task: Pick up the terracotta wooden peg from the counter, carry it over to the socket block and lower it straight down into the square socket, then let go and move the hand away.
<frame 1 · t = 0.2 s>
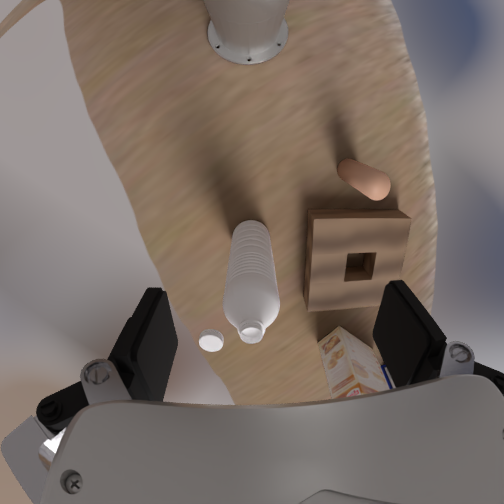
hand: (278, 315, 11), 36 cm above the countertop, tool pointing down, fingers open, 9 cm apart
water bottle: (244, 237, 49), on the countertop
peg: (348, 170, 43), on the countertop
milk carton: (389, 369, 67), on the countertop
coffeecake box: (346, 345, 61), on the countertop
socket block: (351, 254, 50), on the countertop
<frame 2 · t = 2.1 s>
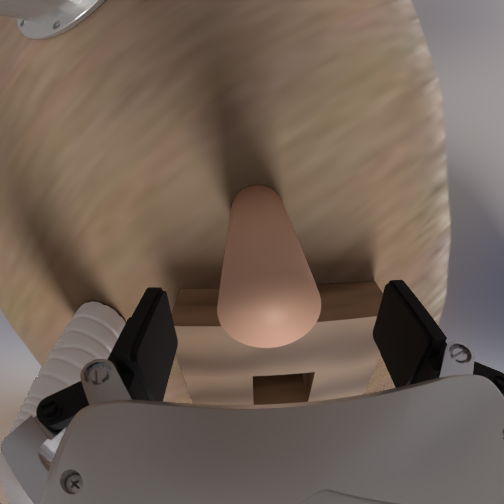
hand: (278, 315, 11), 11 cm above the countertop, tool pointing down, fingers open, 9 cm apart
water bottle: (96, 323, 27), on the countertop
peg: (257, 210, 21), on the countertop
socket block: (278, 354, 28), on the countertop
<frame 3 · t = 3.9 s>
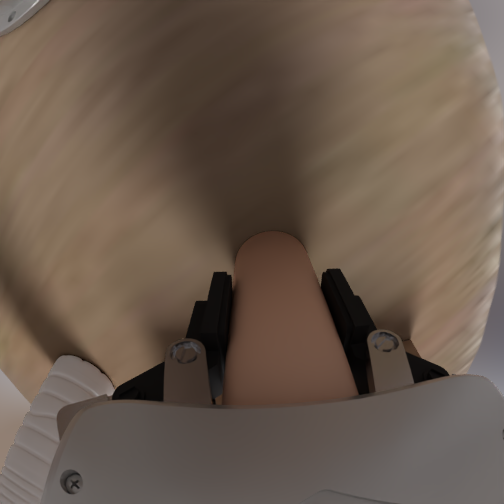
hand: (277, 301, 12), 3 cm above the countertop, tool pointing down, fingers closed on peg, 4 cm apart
water bottle: (78, 375, 21), on the countertop
peg: (272, 265, 15), on the countertop, touching gripper
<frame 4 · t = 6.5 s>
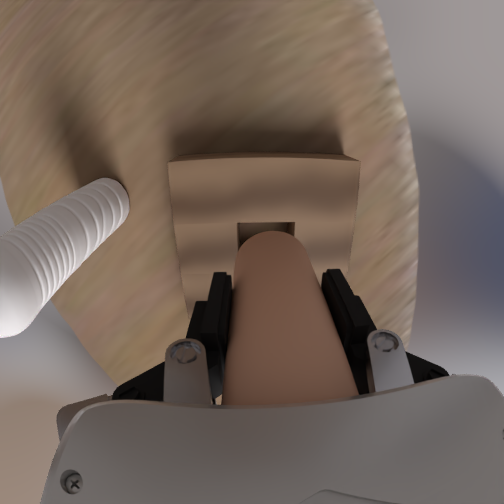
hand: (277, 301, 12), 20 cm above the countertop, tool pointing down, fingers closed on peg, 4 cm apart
water bottle: (101, 204, 30), on the countertop
peg: (272, 265, 15), point 17 cm above the countertop, touching gripper
socket block: (263, 229, 32), on the countertop
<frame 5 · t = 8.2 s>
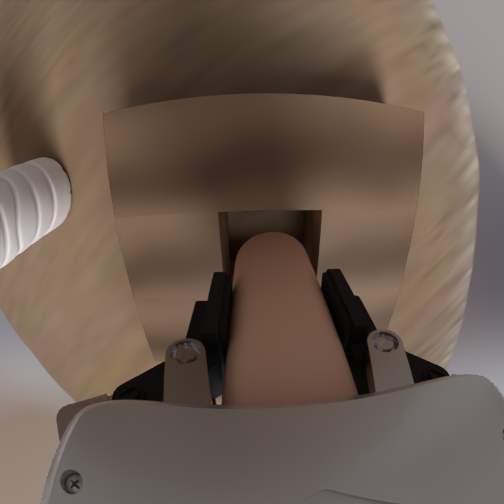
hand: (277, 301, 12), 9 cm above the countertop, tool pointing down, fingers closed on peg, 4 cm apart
water bottle: (40, 195, 19), on the countertop
peg: (272, 266, 15), point 6 cm above the countertop, touching gripper
socket block: (266, 226, 20), on the countertop
when the fingers open (6 cm above the countertop, at t = 9.5 s): peg drops 3 cm, resting in socket block.
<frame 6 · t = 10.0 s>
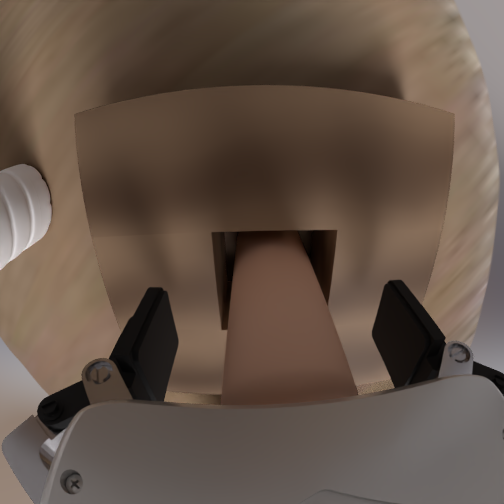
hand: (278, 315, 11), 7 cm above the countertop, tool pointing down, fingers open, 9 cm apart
water bottle: (21, 206, 16), on the countertop
peg: (268, 242, 18), resting in socket block
socket block: (268, 243, 18), on the countertop
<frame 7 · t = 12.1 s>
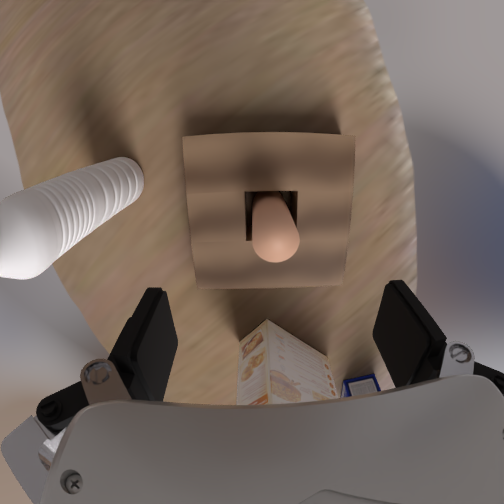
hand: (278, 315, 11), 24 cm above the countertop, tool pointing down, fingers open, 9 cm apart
water bottle: (116, 182, 33), on the countertop
peg: (268, 204, 34), resting in socket block
milk carton: (356, 385, 50), on the countertop
coffeecake box: (285, 349, 45), on the countertop
socket block: (268, 204, 34), on the countertop
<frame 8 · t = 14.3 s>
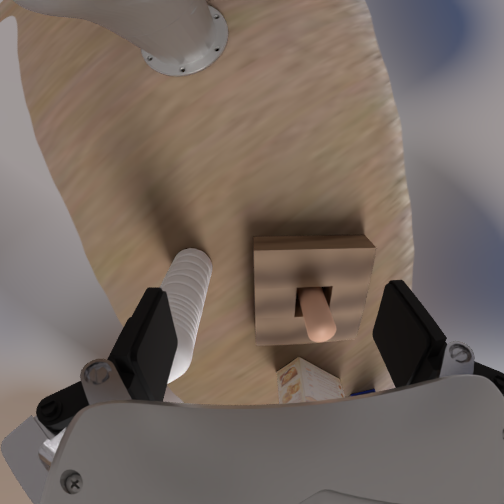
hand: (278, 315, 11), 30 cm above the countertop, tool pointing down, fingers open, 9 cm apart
water bottle: (187, 266, 45), on the countertop
peg: (307, 284, 46), resting in socket block
coffeecake box: (309, 375, 57), on the countertop
socket block: (307, 284, 46), on the countertop
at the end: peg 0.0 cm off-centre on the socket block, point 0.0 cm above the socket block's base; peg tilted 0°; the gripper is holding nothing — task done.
